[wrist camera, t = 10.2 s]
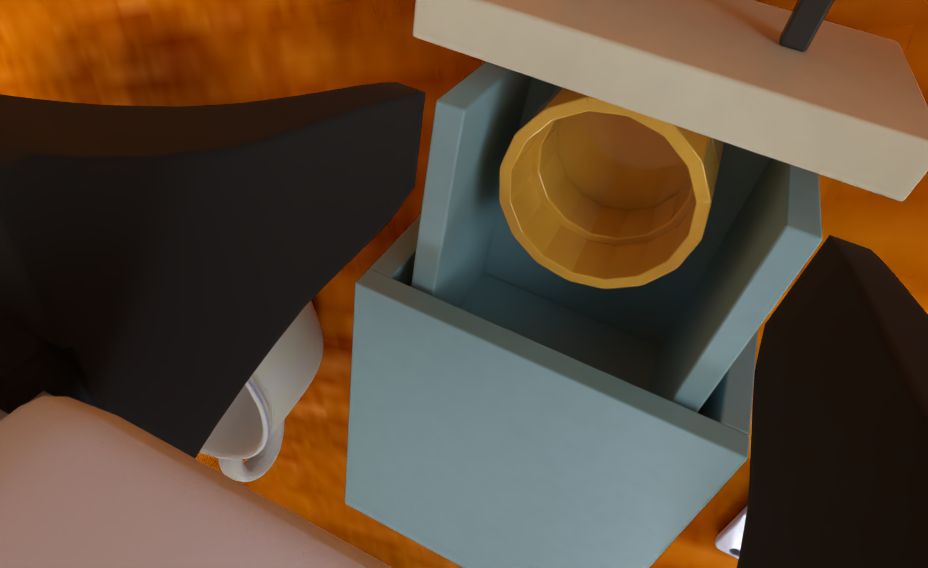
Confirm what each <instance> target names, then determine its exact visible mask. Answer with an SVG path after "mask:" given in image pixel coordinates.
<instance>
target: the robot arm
mask: <svg viewBox="0 0 928 568" xmlns="http://www.w3.org/2000/svg"><path fill="white" fill-rule="evenodd" d="M424 102H425V92H422V91H419V90H417V89H414V88H411V87H408V86H405V85H402V84H400V83H397V82H387V83H375V84H367V85H360V86H354V87H348V88H342V89H336V90H330V91H324V92H318V93H312V94H306V95H300V96H292V97H285V98H277V99H270V100H262V101H255V102H247V103H237V104H224V105H206V106H181V107H166V106H114V105H98V104H84V103H71V102H60V101H50V100H40V99H31V98H23V97H15V96H8V95H1V94H0V568H392V567H391V566H389V565H387V564H385V563H383V562H381V561H380V560H378V559H376V558H374V557H372V556H371V555H369V554H367V553H365V552H363V551H362V550H360V549H358V548H356V547H354V546H353V545H351V544H349V543H347V542H345V541H343V540H342V539H340V538H338V537H336V536H334V535H333V534H331V533H329V532H327V531H325V530H324V529H322V528H320V527H318V526H316V525H314V524H313V523H311V522H309V521H307V520H305V519H304V518H302V517H300V516H298V515H296V514H295V513H293V512H291V511H289V510H287V509H286V508H284V507H282V506H280V505H278V504H276V503H275V502H273V501H271V500H269V499H267V498H266V497H264V496H262V495H260V494H258V493H257V492H255V491H253V490H251V489H249V488H247V487H246V486H244V485H242V484H240V483H238V482H237V481H235V480H233V479H231V478H229V477H228V476H226V475H224V474H222V473H220V472H219V471H217V470H215V469H213V468H211V467H209V466H208V465H206V464H204V463H202V462H200V461H199V460H197V459H195V458H196V456H197V455H198V453H199V452H200V450H201V449H202V447H203V445H204V444H205V442H206V441H207V439H208V438H209V436H210V435H211V433H212V432H213V430H214V428H215V427H216V425H217V424H218V423H219V421H220V420H221V418H222V417H223V415H224V414H225V413H226V411H227V410H228V408H229V407H230V405H231V404H232V402H233V401H234V400H235V398H236V397H237V395H238V394H239V392H240V391H241V390H242V388H243V387H244V385H245V384H246V382H247V381H248V380H249V378H250V377H251V376H252V374H253V373H254V372H255V370H256V369H257V368H258V366H259V365H260V364H261V362H262V361H263V360H264V358H265V357H266V356H267V354H268V353H269V352H270V350H271V349H272V348H273V346H274V345H275V344H276V342H277V341H278V340H279V339H280V337H281V336H282V335H283V334H284V332H285V331H286V330H287V329H288V327H289V326H290V325H291V324H292V322H293V321H294V320H295V319H296V317H297V316H298V315H299V314H300V312H301V311H302V310H303V309H304V307H305V306H306V305H307V304H308V303H309V302H310V301H311V300H312V299H313V298H314V296H315V295H316V294H317V293H318V292H319V291H320V290H321V289H322V288H323V287H324V286H325V285H326V284H327V283H328V282H329V281H330V280H331V279H332V278H333V277H334V276H335V275H336V274H337V273H338V272H339V271H340V270H341V269H342V268H343V267H344V266H345V265H346V264H348V263H349V262H350V261H351V260H352V259H353V258H354V257H355V256H356V255H357V254H358V253H359V252H360V251H361V250H362V249H363V248H364V247H365V246H366V245H367V244H368V243H369V242H370V241H371V240H372V239H373V238H374V237H375V236H376V235H377V234H378V233H379V232H380V231H381V230H382V229H383V228H384V227H385V226H386V225H387V224H388V222H389V221H390V220H391V219H392V217H393V216H394V215H395V213H396V212H397V211H398V210H399V208H400V207H401V205H402V204H403V203H404V201H405V200H406V198H407V197H408V196H409V194H410V193H411V191H412V190H413V188H414V187H415V180H416V171H417V163H418V154H419V145H420V136H421V128H422V119H423V110H424ZM715 546H716V547H717V548H718V549H719V550H721V551H723V552H725V553H727V554H729V555H731V556H733V557H735V558H737V559H739V560H738V566H737V568H928V315H927V313H926V312H925V311H924V310H923V308H922V307H921V306H920V305H919V304H918V302H917V301H916V300H915V299H914V297H913V296H912V295H911V294H910V293H909V291H908V290H907V289H906V288H905V286H904V285H903V284H902V283H901V282H900V280H899V279H898V278H897V277H896V276H895V274H894V273H893V272H892V271H891V270H890V269H889V268H888V266H887V265H886V264H885V263H884V262H883V261H882V260H881V259H880V258H879V257H878V256H877V255H876V254H875V253H874V252H873V251H872V250H870V249H868V248H865V247H862V246H859V245H857V244H854V243H851V242H848V241H845V240H842V239H840V238H837V237H834V236H831V235H829V237H828V238H827V240H826V241H825V242H824V244H823V245H822V246H821V248H820V249H819V251H818V252H817V253H816V255H815V256H814V258H813V259H812V260H811V262H810V263H809V264H808V266H807V267H806V269H805V270H804V271H803V273H802V274H801V275H800V277H799V278H798V280H797V281H796V282H795V284H794V285H793V287H792V288H791V289H790V291H789V292H788V293H787V295H786V296H785V298H784V299H783V300H782V302H781V303H780V304H779V306H778V307H777V309H776V310H775V311H774V313H773V314H772V316H771V317H770V318H769V320H768V321H767V322H766V324H765V327H764V332H763V336H762V340H761V345H760V349H759V354H758V359H757V364H756V369H755V376H754V393H753V412H752V436H751V460H750V483H749V495H748V505H747V506H746V507H745V508H744V509H743V510H742V511H741V512H740V513H739V514H738V515H737V516H736V517H735V518H734V519H733V520H732V521H731V522H730V523H729V524H728V525H727V526H726V527H725V528H724V529H723V530H722V531H721V532H720V533H719V534H718V535H717V536H716V538H715Z"/></svg>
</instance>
